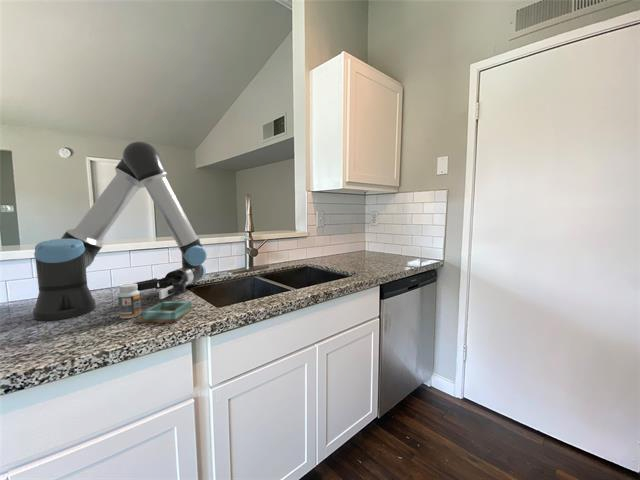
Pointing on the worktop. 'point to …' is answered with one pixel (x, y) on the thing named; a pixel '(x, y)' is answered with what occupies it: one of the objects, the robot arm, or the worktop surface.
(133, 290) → the pill bottle
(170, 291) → the robot arm
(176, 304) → the socket board
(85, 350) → the worktop surface
